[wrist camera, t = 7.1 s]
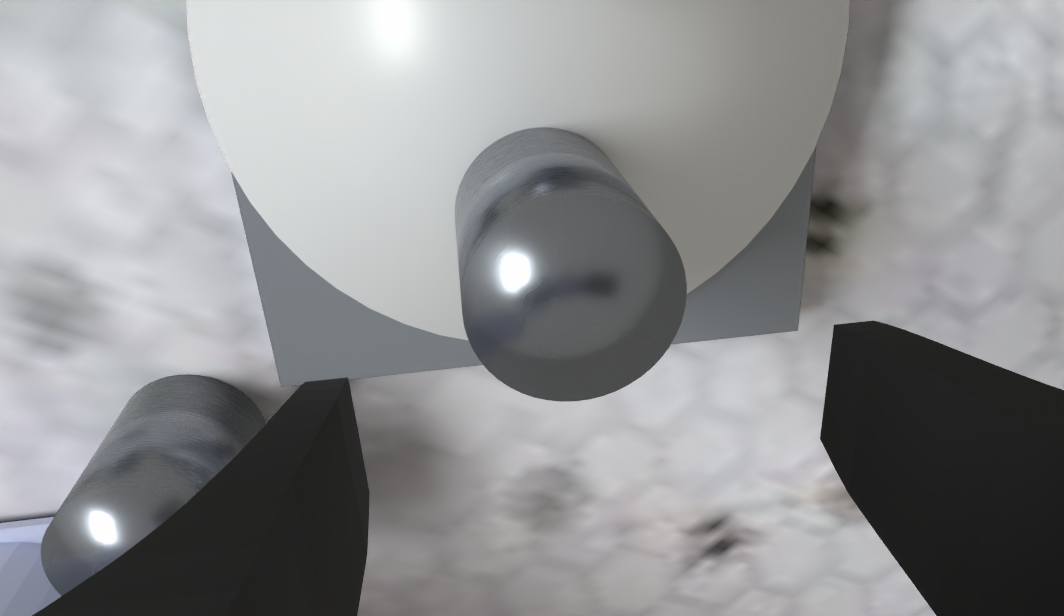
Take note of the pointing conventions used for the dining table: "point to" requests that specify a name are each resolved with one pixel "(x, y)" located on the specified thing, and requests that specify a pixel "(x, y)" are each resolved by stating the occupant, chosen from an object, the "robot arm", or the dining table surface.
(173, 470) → the cylinder
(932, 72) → the dining table surface
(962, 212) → the dining table surface
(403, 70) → the scale
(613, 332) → the cylinder
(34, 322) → the dining table surface
